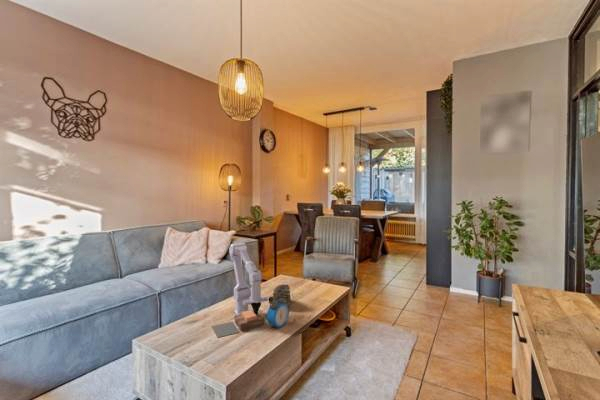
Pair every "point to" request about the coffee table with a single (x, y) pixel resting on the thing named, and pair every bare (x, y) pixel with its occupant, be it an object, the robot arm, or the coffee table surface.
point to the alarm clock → (278, 313)
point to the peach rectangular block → (249, 315)
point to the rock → (281, 294)
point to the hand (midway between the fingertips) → (255, 314)
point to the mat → (225, 329)
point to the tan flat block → (248, 322)
